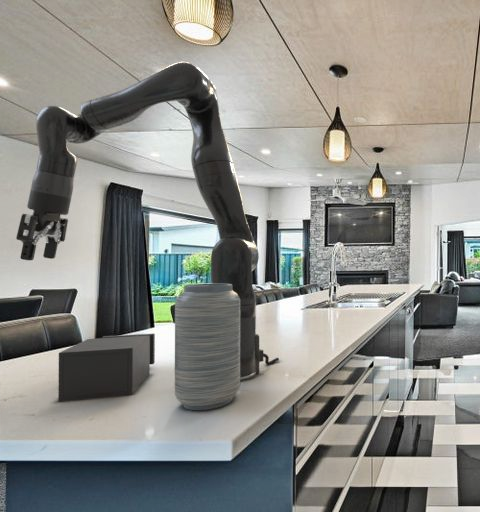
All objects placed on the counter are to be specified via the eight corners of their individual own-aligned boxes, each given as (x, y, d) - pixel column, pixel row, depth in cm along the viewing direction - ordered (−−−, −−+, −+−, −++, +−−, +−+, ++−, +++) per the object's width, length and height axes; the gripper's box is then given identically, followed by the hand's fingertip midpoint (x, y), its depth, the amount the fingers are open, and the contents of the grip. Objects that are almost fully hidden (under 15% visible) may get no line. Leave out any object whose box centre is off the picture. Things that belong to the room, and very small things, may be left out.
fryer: (87, 380, 90) (87, 338, 90) (149, 375, 94) (149, 335, 94) (58, 401, 76) (58, 352, 76) (132, 394, 80) (132, 347, 80)
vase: (210, 417, 68) (210, 286, 68) (159, 409, 72) (160, 285, 72) (252, 395, 79) (252, 283, 79) (206, 389, 83) (207, 282, 83)
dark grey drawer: (109, 363, 102) (109, 333, 102) (158, 359, 105) (158, 330, 106) (81, 382, 85) (81, 347, 85) (141, 377, 89) (141, 343, 89)
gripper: (52, 193, 87) (38, 263, 87) (84, 199, 101) (72, 260, 100) (12, 185, 85) (-2, 257, 85) (51, 192, 99) (38, 254, 99)
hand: (38, 258), depth 93 cm, fingers open, 8 cm apart
